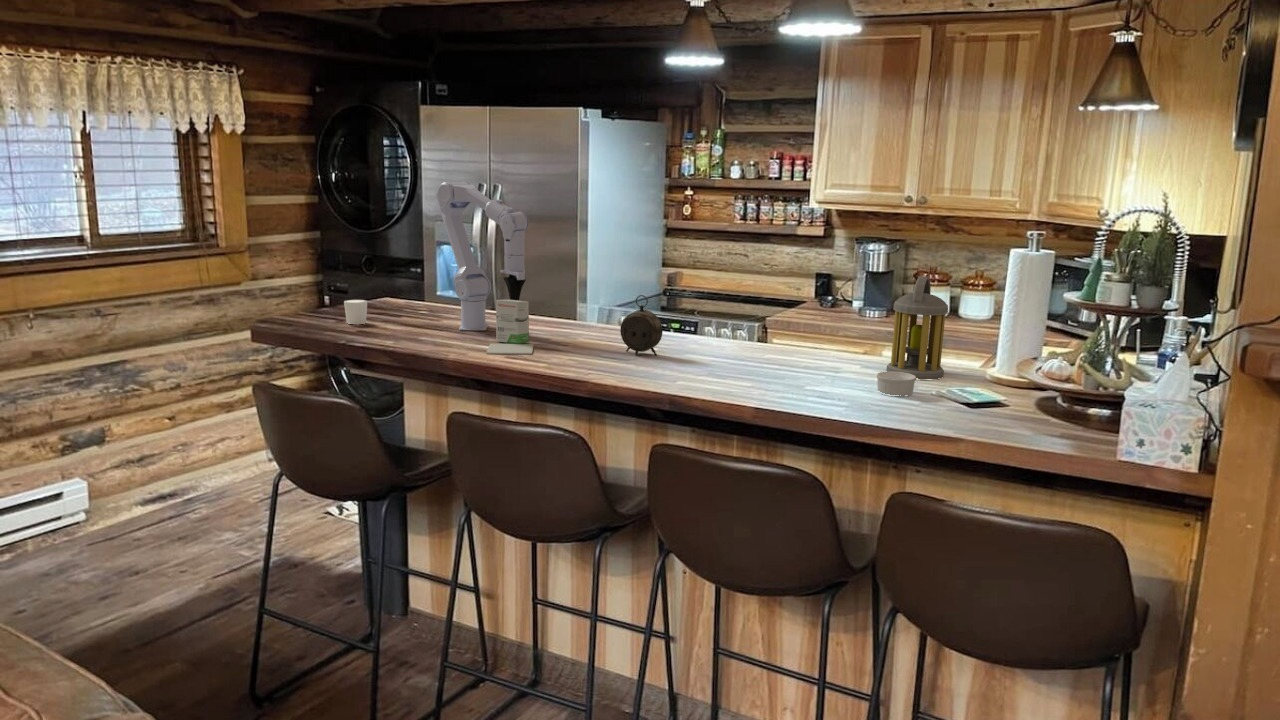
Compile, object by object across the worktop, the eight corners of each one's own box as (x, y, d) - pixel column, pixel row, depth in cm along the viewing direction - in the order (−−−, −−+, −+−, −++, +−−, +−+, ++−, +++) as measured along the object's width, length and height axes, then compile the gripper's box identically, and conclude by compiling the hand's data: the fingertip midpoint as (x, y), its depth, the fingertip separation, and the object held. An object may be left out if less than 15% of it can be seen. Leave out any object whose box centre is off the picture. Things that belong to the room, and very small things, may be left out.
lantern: (893, 365, 253) (901, 271, 247) (948, 372, 246) (957, 275, 241) (880, 375, 240) (888, 276, 235) (937, 382, 234) (947, 281, 229)
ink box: (530, 342, 268) (530, 300, 266) (518, 344, 264) (518, 302, 262) (507, 339, 273) (507, 298, 271) (495, 341, 269) (495, 299, 267)
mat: (490, 345, 265) (490, 343, 265) (533, 345, 266) (533, 344, 266) (486, 354, 253) (486, 352, 253) (531, 354, 254) (531, 353, 254)
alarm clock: (662, 354, 258) (664, 295, 254) (654, 358, 253) (656, 298, 250) (625, 350, 262) (627, 292, 259) (617, 354, 257) (618, 294, 254)
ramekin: (891, 399, 217) (893, 381, 216) (867, 390, 225) (869, 372, 224) (922, 396, 221) (924, 378, 220) (898, 387, 229) (899, 370, 228)
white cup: (364, 325, 288) (363, 303, 286) (341, 325, 288) (340, 302, 286) (370, 322, 295) (370, 299, 293) (348, 321, 295) (347, 298, 293)
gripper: (494, 252, 278) (494, 298, 281) (507, 257, 265) (507, 306, 268) (518, 251, 281) (518, 297, 283) (531, 257, 267) (531, 305, 270)
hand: (514, 301), depth 276 cm, fingers closed
